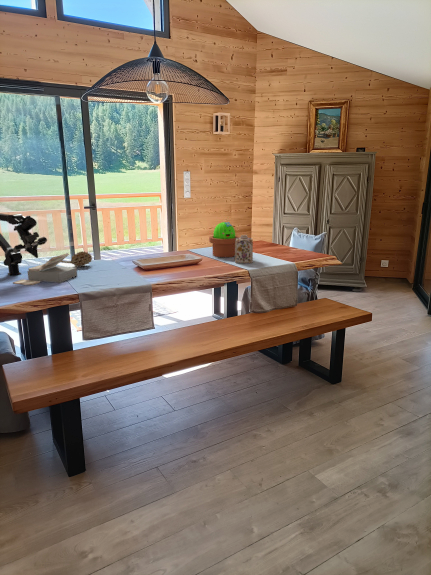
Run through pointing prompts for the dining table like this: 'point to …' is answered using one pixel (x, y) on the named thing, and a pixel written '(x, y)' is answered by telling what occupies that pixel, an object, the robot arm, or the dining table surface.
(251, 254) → the decorative jar
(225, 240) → the potted cactus
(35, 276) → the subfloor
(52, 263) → the board
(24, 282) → the plank
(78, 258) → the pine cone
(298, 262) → the dining table surface
